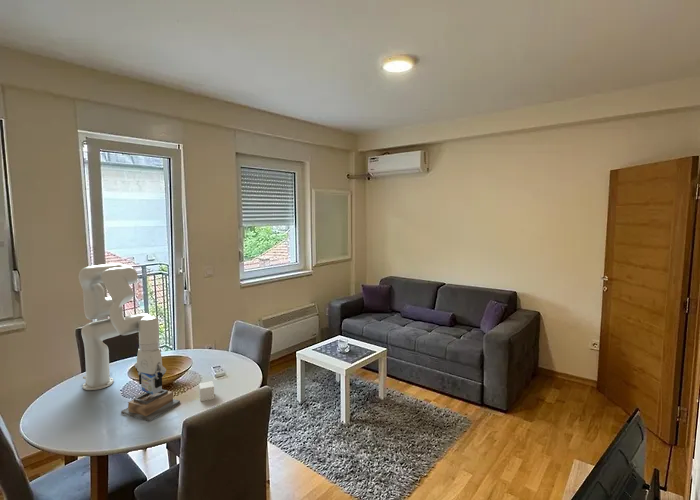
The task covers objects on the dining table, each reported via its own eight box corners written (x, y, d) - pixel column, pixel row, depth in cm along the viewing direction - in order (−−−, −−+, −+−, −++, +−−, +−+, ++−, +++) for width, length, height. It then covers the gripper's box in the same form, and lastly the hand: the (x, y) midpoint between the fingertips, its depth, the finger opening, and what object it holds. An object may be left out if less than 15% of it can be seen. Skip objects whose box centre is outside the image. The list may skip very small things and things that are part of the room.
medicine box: (141, 390, 162) (140, 371, 162) (150, 386, 166) (150, 367, 165) (152, 395, 159) (152, 375, 158) (162, 390, 163) (161, 371, 162)
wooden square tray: (121, 413, 158) (120, 399, 158) (152, 396, 173) (152, 383, 173) (150, 421, 153) (149, 407, 152) (180, 403, 168) (179, 390, 167)
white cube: (200, 401, 170) (199, 388, 169) (199, 395, 175) (199, 383, 175) (214, 398, 172) (214, 386, 172) (212, 393, 178) (212, 381, 177)
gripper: (126, 346, 160) (128, 385, 161) (157, 351, 154) (159, 392, 155) (141, 340, 167) (143, 378, 168) (172, 345, 161) (173, 384, 162)
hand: (150, 384), depth 162 cm, fingers closed on medicine box, 8 cm apart
